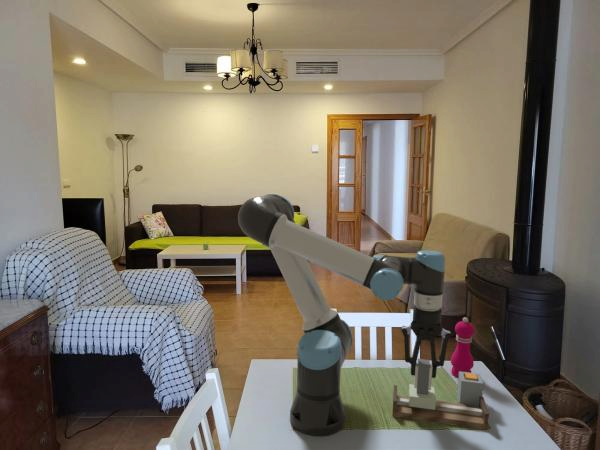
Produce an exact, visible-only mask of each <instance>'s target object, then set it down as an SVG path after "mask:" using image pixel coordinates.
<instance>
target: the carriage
mask: <svg viewBox="0 0 600 450" xmlns="http://www.w3.org/2000/svg"><path fill="white" fill-rule="evenodd" d="M417 362H418V381H417V388H414V383H412V384H411V383H409V384H408V397H409V406H411V407H418V408H425V409H432V410H435V405H436V400H437V399H436V398H437V397H436V393H435V392H436V390H435V387H434V386H431V390H428V386H429V370H430V364H431V363H430V359H423V358H417Z"/></svg>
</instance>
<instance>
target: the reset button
mask: <svg viewBox="0 0 600 450" xmlns="http://www.w3.org/2000/svg"><path fill="white" fill-rule="evenodd" d="M472 373H473V372H471V373H465V380H473V381H477V376H476V374H472Z"/></svg>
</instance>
